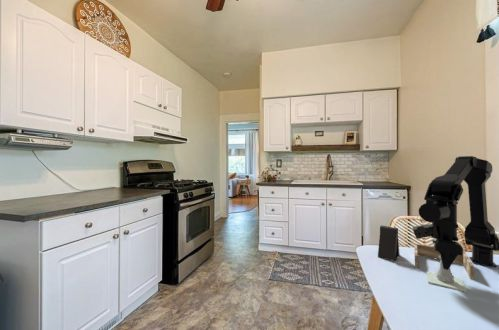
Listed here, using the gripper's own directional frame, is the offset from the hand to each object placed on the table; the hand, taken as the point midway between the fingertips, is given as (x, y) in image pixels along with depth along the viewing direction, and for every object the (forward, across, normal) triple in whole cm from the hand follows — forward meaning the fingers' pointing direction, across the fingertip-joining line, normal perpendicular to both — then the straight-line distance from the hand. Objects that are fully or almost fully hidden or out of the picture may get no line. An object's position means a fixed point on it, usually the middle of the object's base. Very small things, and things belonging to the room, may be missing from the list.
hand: (445, 267), depth 73 cm
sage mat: (+4, 0, 0) cm, 5 cm away
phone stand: (+5, -14, -16) cm, 22 cm away
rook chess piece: (+4, 0, 0) cm, 4 cm away
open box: (+5, -15, 0) cm, 16 cm away
